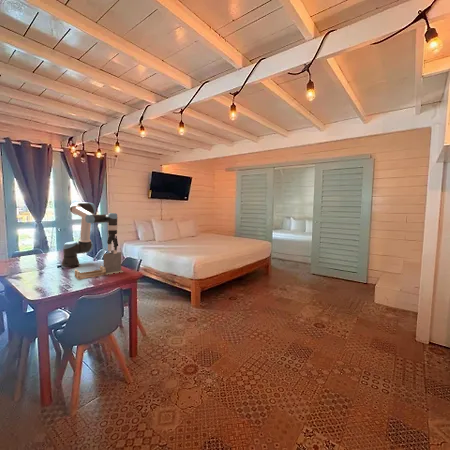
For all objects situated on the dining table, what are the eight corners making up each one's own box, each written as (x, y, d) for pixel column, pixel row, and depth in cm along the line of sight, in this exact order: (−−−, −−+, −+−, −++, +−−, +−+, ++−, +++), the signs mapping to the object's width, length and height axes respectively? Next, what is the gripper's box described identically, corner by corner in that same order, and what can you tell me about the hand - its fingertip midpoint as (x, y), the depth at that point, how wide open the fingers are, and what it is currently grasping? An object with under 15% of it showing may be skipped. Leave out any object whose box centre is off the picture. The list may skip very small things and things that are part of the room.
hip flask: (120, 269, 233) (120, 249, 231) (122, 270, 230) (122, 249, 228) (103, 272, 221) (103, 251, 220) (104, 273, 218) (104, 251, 217)
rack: (74, 276, 208) (74, 269, 207) (101, 272, 223) (101, 265, 223) (77, 279, 200) (77, 272, 200) (105, 274, 216) (105, 268, 216)
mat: (101, 271, 224) (101, 271, 224) (118, 269, 235) (118, 268, 235) (106, 274, 216) (106, 274, 216) (123, 272, 226) (123, 271, 226)
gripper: (103, 228, 228) (103, 250, 230) (113, 231, 211) (113, 255, 213) (111, 228, 234) (111, 249, 236) (122, 231, 216) (121, 254, 218)
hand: (112, 252), depth 224 cm, fingers open, 13 cm apart
